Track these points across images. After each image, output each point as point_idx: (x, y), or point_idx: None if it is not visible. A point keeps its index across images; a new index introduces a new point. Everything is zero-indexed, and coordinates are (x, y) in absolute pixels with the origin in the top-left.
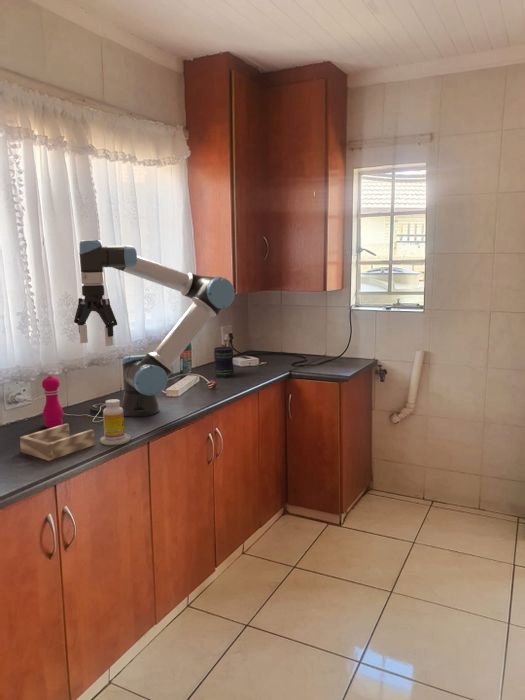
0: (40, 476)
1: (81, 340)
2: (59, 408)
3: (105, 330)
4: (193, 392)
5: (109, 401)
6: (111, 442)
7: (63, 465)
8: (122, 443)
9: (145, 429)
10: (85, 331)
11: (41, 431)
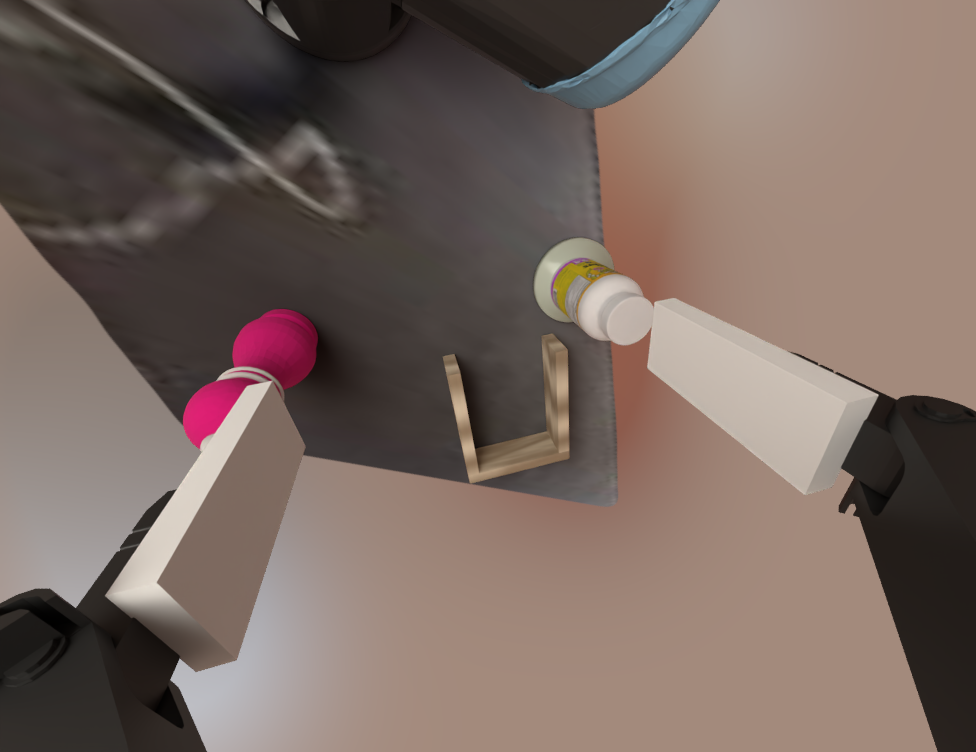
0: (607, 465)
1: (298, 468)
2: (298, 349)
3: (782, 463)
4: None
5: (628, 334)
6: None
7: (599, 426)
8: None
9: (566, 142)
10: (235, 499)
11: (467, 441)
